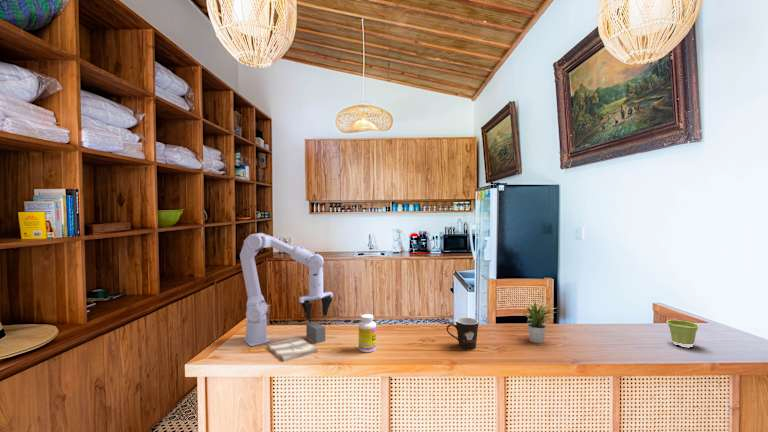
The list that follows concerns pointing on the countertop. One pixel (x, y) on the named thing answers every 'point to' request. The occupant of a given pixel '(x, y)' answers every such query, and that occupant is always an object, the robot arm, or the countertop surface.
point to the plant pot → (682, 331)
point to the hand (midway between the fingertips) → (316, 317)
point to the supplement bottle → (367, 333)
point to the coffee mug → (466, 332)
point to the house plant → (537, 322)
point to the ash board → (292, 348)
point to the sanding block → (315, 332)
